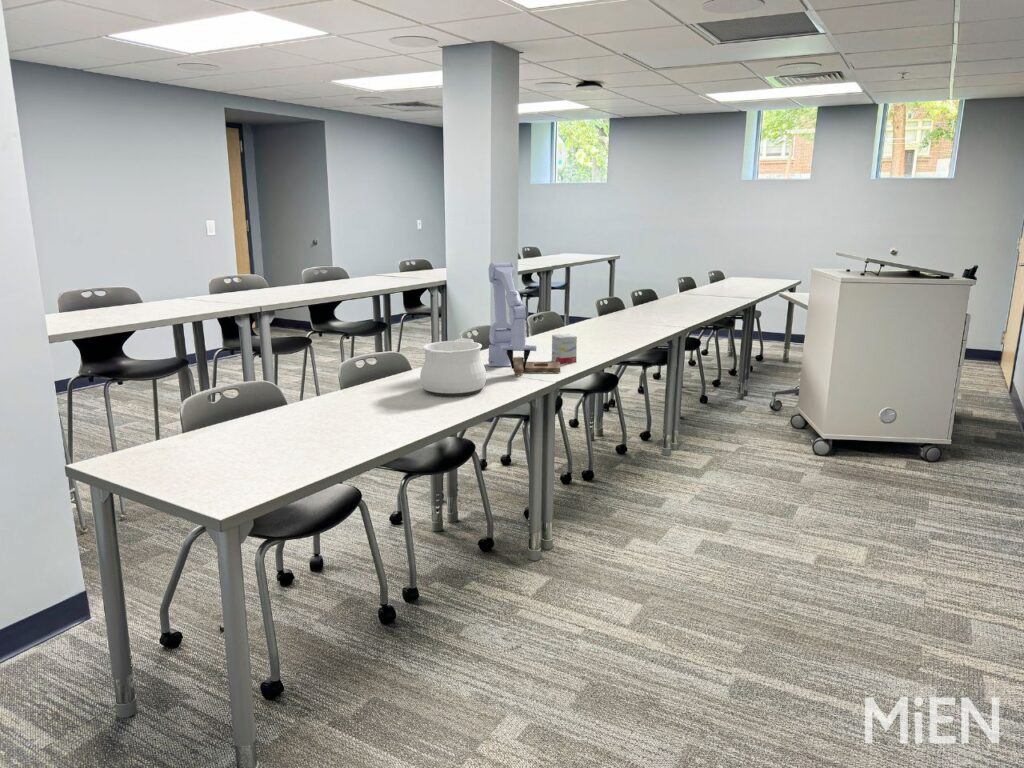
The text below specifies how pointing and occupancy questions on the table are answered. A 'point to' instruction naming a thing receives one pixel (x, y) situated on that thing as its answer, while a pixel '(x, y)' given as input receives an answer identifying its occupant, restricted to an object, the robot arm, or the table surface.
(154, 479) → the table surface
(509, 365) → the robot arm
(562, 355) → the ink box
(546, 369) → the board
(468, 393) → the pot
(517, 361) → the peg
